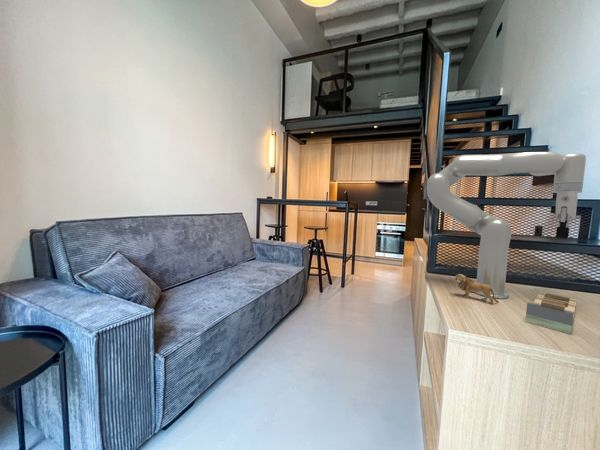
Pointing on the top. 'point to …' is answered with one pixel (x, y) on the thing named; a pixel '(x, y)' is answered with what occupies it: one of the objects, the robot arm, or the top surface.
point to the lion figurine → (474, 287)
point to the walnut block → (553, 304)
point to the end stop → (550, 313)
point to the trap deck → (569, 306)
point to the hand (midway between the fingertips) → (561, 237)
